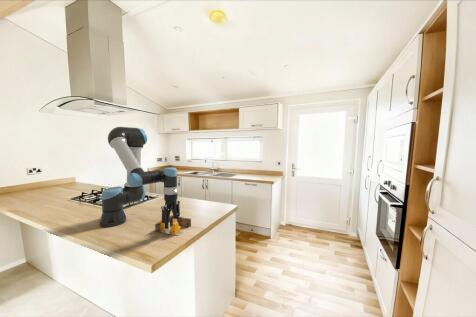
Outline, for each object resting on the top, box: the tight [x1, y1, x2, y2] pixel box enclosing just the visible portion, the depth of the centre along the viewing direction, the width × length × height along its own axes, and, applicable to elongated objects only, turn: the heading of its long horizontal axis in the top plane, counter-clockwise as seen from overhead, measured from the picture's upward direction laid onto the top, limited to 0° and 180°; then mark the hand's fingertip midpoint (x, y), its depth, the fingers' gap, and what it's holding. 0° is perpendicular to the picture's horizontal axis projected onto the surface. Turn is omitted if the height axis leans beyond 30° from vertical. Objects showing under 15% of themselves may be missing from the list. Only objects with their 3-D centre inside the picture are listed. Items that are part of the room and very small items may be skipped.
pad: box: [159, 230, 183, 236], centre depth 113 cm, size 13×5×1 cm, turn 68°
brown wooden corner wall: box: [154, 214, 192, 233], centre depth 117 cm, size 15×15×5 cm
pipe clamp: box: [160, 219, 182, 236], centre depth 113 cm, size 12×4×6 cm, turn 63°
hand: (171, 231), depth 113 cm, fingers open, 6 cm apart
